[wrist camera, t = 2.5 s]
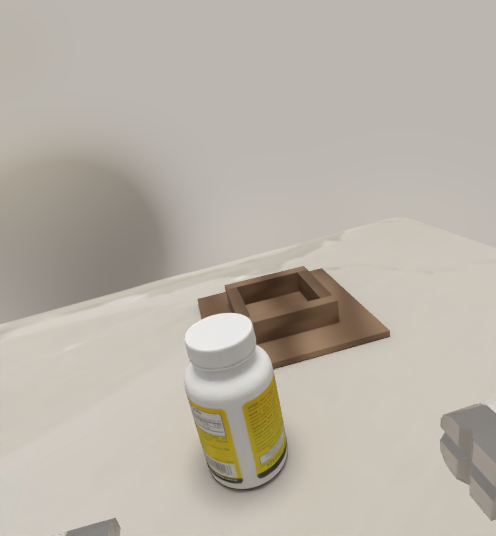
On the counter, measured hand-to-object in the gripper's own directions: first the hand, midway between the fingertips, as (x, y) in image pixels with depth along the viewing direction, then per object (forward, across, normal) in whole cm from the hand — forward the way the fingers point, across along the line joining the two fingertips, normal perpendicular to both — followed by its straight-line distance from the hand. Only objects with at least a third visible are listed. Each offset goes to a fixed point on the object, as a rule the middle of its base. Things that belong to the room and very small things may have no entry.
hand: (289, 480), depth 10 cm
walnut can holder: (+29, +6, -13) cm, 32 cm away
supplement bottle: (+13, -1, -13) cm, 18 cm away
